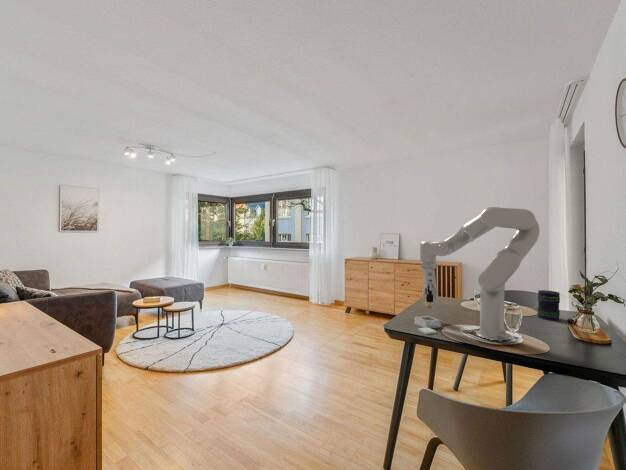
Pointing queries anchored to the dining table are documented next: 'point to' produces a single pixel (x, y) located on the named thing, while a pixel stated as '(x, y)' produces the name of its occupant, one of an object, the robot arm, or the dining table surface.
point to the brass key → (428, 304)
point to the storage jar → (548, 305)
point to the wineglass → (433, 296)
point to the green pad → (427, 330)
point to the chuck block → (427, 321)
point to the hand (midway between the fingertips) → (429, 300)
